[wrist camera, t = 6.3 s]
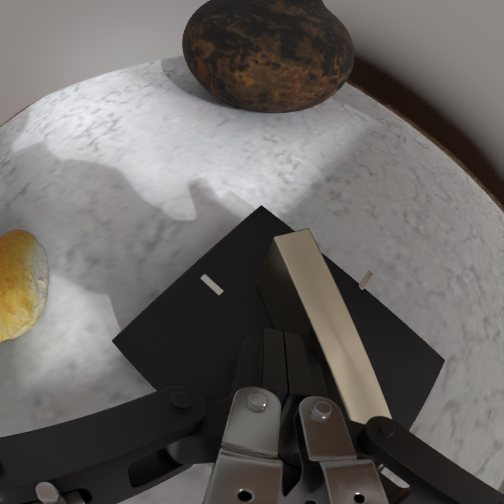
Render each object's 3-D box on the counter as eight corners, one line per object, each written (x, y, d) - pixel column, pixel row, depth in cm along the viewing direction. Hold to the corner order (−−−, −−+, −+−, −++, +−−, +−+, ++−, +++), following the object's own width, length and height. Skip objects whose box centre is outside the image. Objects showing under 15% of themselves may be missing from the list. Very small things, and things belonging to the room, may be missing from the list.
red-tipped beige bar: (256, 283, 16) (274, 233, 11) (282, 275, 16) (310, 224, 12) (323, 453, 12) (373, 474, 7) (349, 440, 12) (407, 452, 8)
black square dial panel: (115, 361, 15) (96, 353, 13) (264, 220, 21) (272, 193, 19) (310, 518, 12) (327, 536, 9) (425, 355, 18) (452, 346, 15)
